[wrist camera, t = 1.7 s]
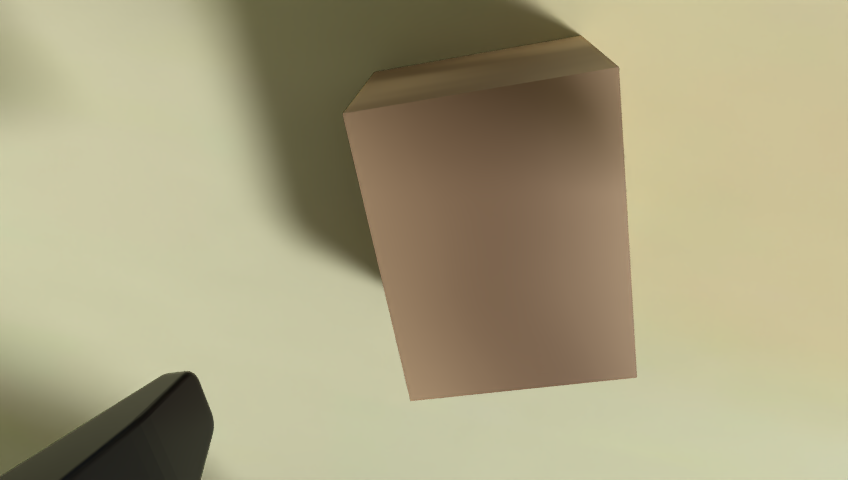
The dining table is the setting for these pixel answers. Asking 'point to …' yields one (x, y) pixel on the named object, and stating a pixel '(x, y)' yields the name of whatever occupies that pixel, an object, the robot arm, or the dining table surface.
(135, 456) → the robot arm
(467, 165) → the walnut block
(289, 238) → the dining table surface
